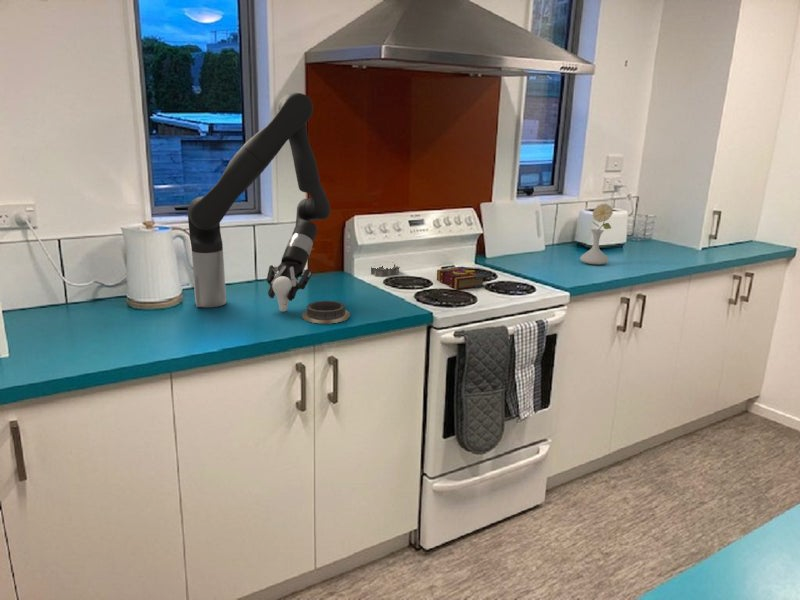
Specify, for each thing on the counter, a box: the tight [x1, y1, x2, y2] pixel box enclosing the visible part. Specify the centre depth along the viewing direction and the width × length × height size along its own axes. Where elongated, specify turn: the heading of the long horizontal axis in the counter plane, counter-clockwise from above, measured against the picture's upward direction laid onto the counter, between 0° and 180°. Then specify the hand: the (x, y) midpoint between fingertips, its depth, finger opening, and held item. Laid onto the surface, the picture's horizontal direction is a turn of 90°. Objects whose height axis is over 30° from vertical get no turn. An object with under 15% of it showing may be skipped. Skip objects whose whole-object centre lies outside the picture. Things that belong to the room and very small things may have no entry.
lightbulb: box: [272, 276, 292, 313], centre depth 193 cm, size 6×6×11 cm
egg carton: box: [370, 263, 401, 278], centre depth 241 cm, size 11×8×4 cm
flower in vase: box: [579, 203, 614, 265], centre depth 259 cm, size 13×11×25 cm
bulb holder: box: [302, 300, 351, 325], centre depth 190 cm, size 14×14×3 cm
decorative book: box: [436, 266, 486, 291], centre depth 229 cm, size 11×16×5 cm
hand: (280, 298), depth 192 cm, fingers closed on lightbulb, 5 cm apart
